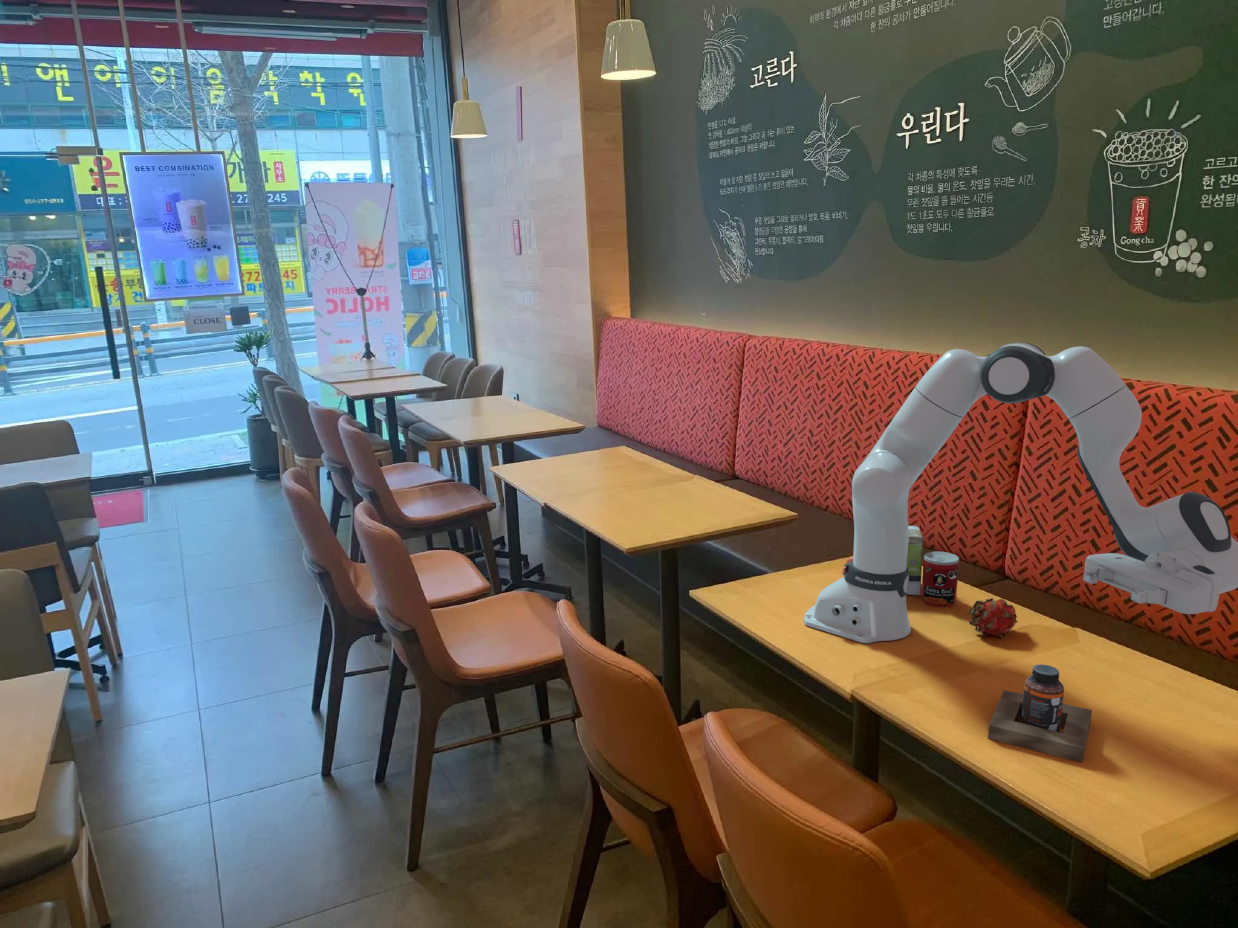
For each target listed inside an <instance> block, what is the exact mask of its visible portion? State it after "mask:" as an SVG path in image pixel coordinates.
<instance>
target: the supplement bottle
mask: <svg viewBox="0 0 1238 928" xmlns="http://www.w3.org/2000/svg"><path fill="white" fill-rule="evenodd" d="M1064 692H1065V687H1064V685H1063V683H1062V682H1061V681H1060V671H1059V669H1057V668H1056V667H1054V666H1052V665H1048V664H1036V665H1033V667H1032V672H1031V675H1030V676H1028V677H1027V678H1025V681H1024V688H1023V694H1024V696H1023V706H1022V716H1020V717H1021V718H1020V723H1023V724H1027V725H1031V726H1035V727H1039V728H1043V729H1047V730H1052V731H1056V732H1060V729H1061V725H1060V724H1061V713H1062V704H1064V694H1065V693H1064Z"/></svg>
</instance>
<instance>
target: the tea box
mask: <svg viewBox="0 0 1238 928" xmlns="http://www.w3.org/2000/svg"><path fill="white" fill-rule="evenodd" d="M908 530H909V539H908V555H907V567H908V569H909V574H908V576H909V584H908V591H907V594H906V596H907V595H911V596H921V593H922V573H923V548H924V547H923V545H924V537H923V535H922V533H921V530H920V527H919V525H908Z"/></svg>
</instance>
